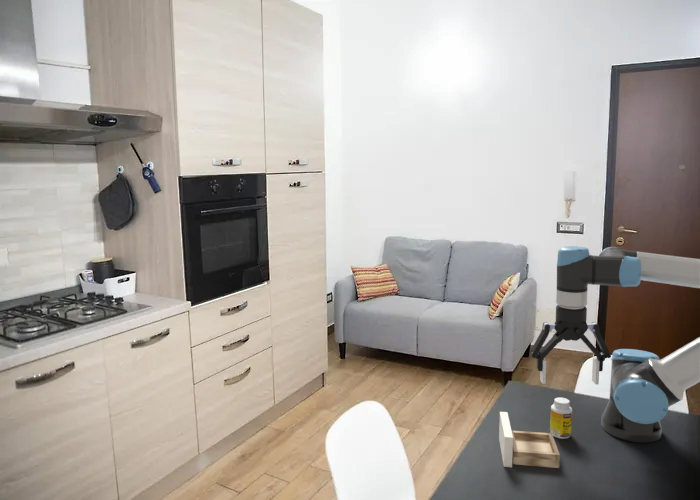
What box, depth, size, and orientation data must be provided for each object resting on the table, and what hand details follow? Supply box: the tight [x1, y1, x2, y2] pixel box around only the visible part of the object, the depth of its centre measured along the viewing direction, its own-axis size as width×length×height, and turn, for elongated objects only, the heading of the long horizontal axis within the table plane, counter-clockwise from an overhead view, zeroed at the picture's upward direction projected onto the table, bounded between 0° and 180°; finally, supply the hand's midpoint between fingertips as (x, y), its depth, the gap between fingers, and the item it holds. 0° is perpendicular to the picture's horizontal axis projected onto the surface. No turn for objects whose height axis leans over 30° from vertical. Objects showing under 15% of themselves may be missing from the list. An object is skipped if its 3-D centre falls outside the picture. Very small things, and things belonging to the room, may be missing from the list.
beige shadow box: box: [511, 429, 561, 469], centre depth 140 cm, size 11×11×4 cm
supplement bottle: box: [549, 397, 573, 440], centre depth 149 cm, size 6×6×10 cm
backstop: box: [498, 411, 513, 468], centre depth 140 cm, size 2×14×8 cm, turn 169°
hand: (568, 382), depth 144 cm, fingers open, 13 cm apart
